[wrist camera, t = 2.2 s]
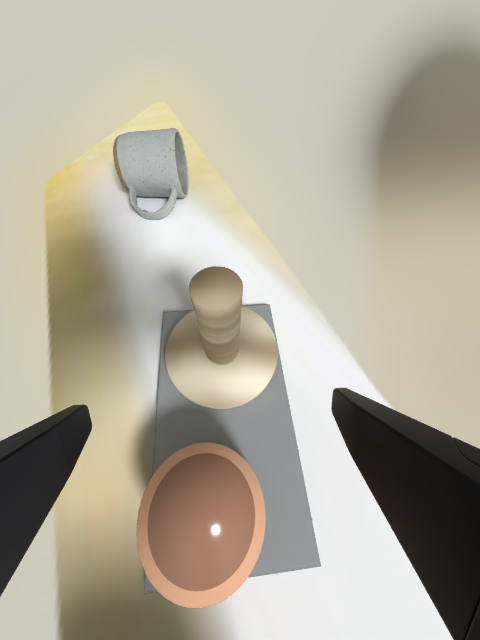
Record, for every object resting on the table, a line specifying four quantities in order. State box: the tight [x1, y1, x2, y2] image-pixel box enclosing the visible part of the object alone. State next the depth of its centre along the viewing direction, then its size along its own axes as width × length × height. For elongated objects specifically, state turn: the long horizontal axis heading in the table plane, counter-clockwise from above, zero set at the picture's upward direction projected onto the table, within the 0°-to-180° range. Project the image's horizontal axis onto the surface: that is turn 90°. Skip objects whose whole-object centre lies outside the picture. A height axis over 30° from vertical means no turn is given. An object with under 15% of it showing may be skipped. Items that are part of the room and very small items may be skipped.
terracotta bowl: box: [137, 442, 266, 608], centre depth 15 cm, size 7×7×4 cm
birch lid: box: [165, 267, 278, 410], centre depth 17 cm, size 10×10×10 cm
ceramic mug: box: [113, 128, 189, 220], centre depth 31 cm, size 11×8×8 cm
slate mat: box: [144, 304, 321, 593], centre depth 20 cm, size 20×11×1 cm, turn 6°
